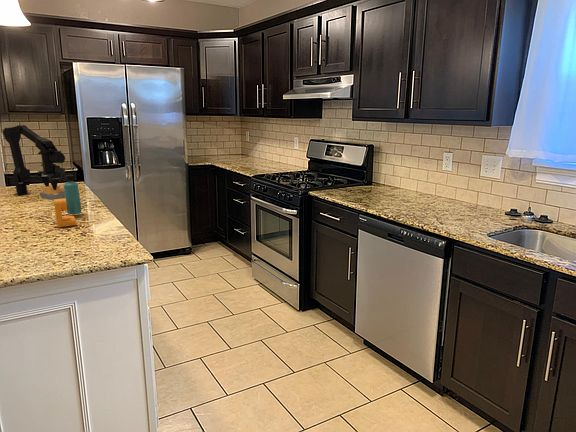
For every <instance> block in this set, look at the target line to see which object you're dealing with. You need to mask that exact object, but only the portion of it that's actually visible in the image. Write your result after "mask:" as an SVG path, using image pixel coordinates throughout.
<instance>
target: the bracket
mask: <svg viewBox="0 0 576 432" xmlns="http://www.w3.org/2000/svg"><path fill="white" fill-rule="evenodd" d="M53 206H54V214H55V220H56V221H55V222H56V226H57V228H63V227H71V226H77V220H76V218H75V216H74V215H66V216H63V213H62V212H65V211H66V212H67V202H66V198H60V199H53Z"/></svg>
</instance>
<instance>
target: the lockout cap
mask: <svg viewBox="0 0 576 432" xmlns="http://www.w3.org/2000/svg"><path fill="white" fill-rule="evenodd" d="M41 189H42V192H43V193H45V194H55V193H61V190H62V188H61V186H60V185H57V188H56V190H54V189H53V187H52V185H49V186H45V185H44V186H41Z"/></svg>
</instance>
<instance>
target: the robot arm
mask: <svg viewBox="0 0 576 432" xmlns="http://www.w3.org/2000/svg"><path fill="white" fill-rule="evenodd" d="M2 134H3V138H4V140H5V141H6V142H8V144H9V148H10V153H11V156H12V160H13V165H14V170H13V173H12V174H13V177H12V179H11V181H10V184H11V186H14V187H15V190H16V193H14V195H16V196H18V197H20V196H25V195H31V193H30V192H29V191H28V186H27V184H30V183H31V179H32V178H31V176H32V174H31V170H30V169H28V168H26V166H25V162H24V157H23V153H22V149H21V144H20V141H21V138H22V136H24V137H25V138H26V139H28V140H29V141H30V142H32V143H34V144H35V147H36V148H37V149H38V150H39V152H38V153H37V155H41V156H40V157H41V164H40V166H41V167H42V170H38V171H37V176H38V178H39V180H41V182H42V183H43V185H44V187H45V186H52V187H53V189H54V190H56V188H57V186H58V182H59V181H60V180H62V178H63V175H64V174H65V171H66V168H63V167H60V165H57V164H63V163H64V162H65V161H66V156H65V154H64V153H62V150H58V148H57V147H56V146H55V144H54V142H53V141H52V140H50V139H48V138H46V137H42V136H41V135H39V134H37V133H36V132H34V131H33V130H32V129H30V128H29V127H28V126H27V125H24V124H19V125H16V126H12V127H4V128H3V130H2Z"/></svg>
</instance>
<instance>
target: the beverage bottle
mask: <svg viewBox="0 0 576 432" xmlns="http://www.w3.org/2000/svg"><path fill="white" fill-rule="evenodd" d="M64 180H65V181H66V182H65V183H64V184H63V190H64V191H65V198H66V202H67V211H66V212H67V214H68V215H78V214H81V213H82V204H81V198H80V197H81V196H80V190H79V183H78V182H76V181H75V180H76V177H75V175H73V174H66V175H65V176H64ZM65 198H64V199H65Z"/></svg>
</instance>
